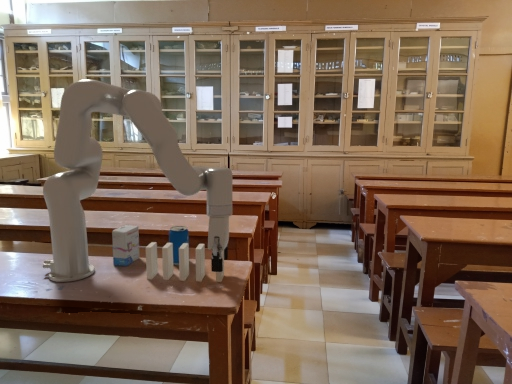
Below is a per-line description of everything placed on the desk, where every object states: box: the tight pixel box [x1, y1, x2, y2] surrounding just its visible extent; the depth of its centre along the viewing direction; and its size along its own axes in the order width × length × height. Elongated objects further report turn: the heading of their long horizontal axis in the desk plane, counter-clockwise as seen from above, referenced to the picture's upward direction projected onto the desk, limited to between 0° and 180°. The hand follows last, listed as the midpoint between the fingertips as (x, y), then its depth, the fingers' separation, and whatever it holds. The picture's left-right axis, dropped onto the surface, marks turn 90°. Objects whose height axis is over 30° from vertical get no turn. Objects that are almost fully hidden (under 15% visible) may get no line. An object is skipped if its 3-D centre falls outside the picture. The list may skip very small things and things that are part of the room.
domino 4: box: [195, 243, 206, 282], centre depth 105 cm, size 2×5×10 cm, turn 176°
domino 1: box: [145, 241, 159, 280], centre depth 106 cm, size 2×5×10 cm, turn 176°
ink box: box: [111, 224, 140, 267], centre depth 117 cm, size 9×5×12 cm, turn 168°
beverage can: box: [168, 225, 190, 266], centre depth 117 cm, size 6×6×12 cm
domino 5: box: [215, 247, 225, 283], centre depth 105 cm, size 2×5×10 cm, turn 176°
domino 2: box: [161, 242, 174, 281], centre depth 106 cm, size 2×5×10 cm, turn 176°
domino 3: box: [178, 242, 190, 282], centre depth 105 cm, size 2×5×10 cm, turn 176°
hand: (220, 265), depth 105 cm, fingers open, 9 cm apart
